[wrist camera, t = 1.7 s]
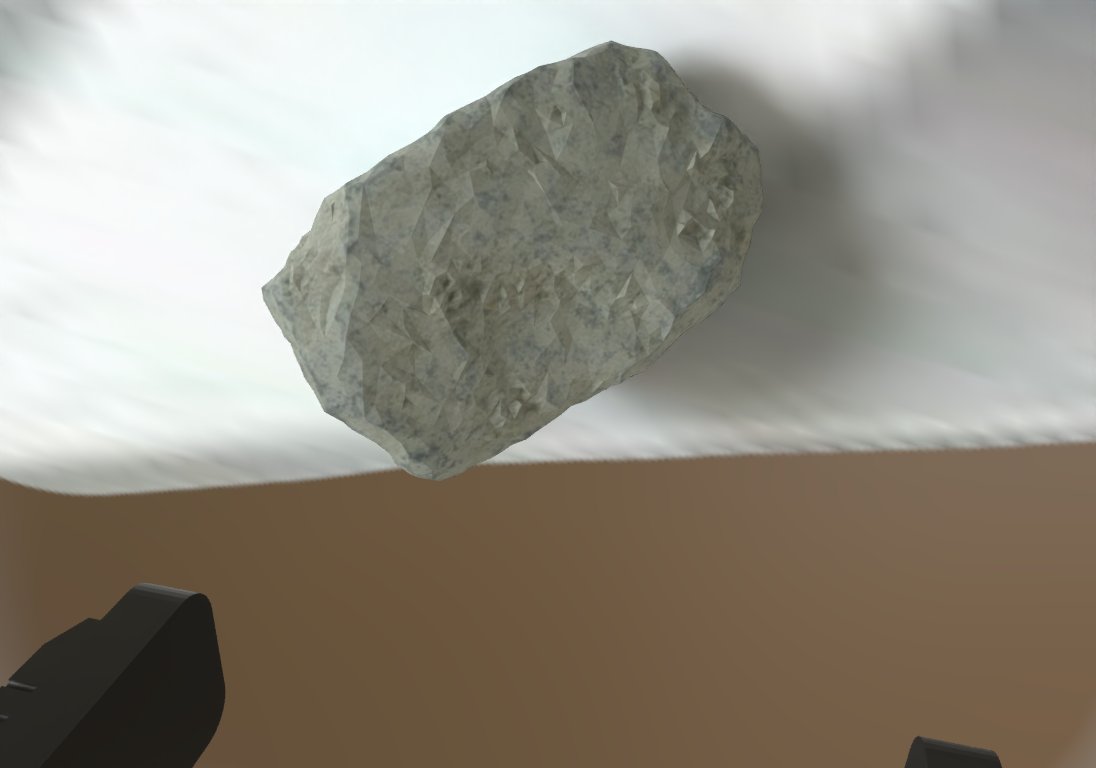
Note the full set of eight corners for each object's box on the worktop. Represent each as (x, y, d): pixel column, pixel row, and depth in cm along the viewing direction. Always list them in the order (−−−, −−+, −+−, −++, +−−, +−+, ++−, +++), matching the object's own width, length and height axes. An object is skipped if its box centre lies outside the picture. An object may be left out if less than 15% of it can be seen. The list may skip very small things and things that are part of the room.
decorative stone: (370, 389, 36) (485, 587, 28) (165, 164, 27) (252, 363, 20) (661, 175, 36) (844, 318, 29) (544, -107, 28) (759, -6, 21)
